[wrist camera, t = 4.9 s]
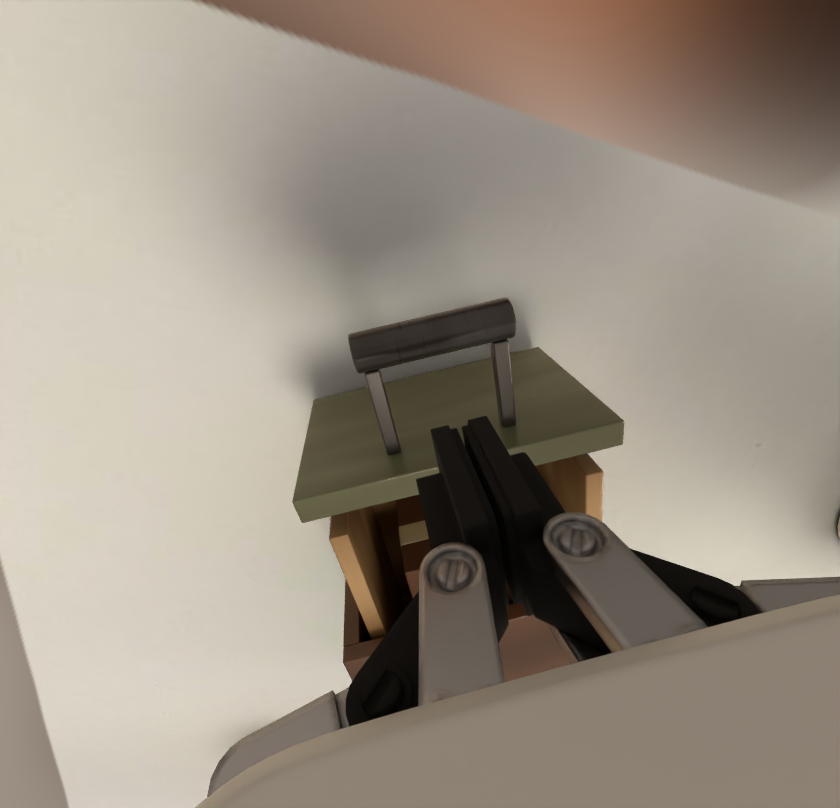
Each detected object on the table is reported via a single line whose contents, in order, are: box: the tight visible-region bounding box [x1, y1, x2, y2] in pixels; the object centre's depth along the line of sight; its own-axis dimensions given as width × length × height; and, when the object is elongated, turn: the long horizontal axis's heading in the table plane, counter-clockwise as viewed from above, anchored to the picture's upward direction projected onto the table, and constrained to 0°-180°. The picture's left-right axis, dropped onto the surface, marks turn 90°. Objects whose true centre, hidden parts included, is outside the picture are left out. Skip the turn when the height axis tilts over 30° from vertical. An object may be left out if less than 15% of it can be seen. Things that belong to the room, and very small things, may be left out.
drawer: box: [292, 298, 624, 640], centre depth 23 cm, size 23×13×9 cm, turn 10°
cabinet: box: [343, 580, 571, 682], centre depth 29 cm, size 19×15×11 cm
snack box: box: [396, 495, 513, 601], centre depth 23 cm, size 4×7×7 cm, turn 100°
